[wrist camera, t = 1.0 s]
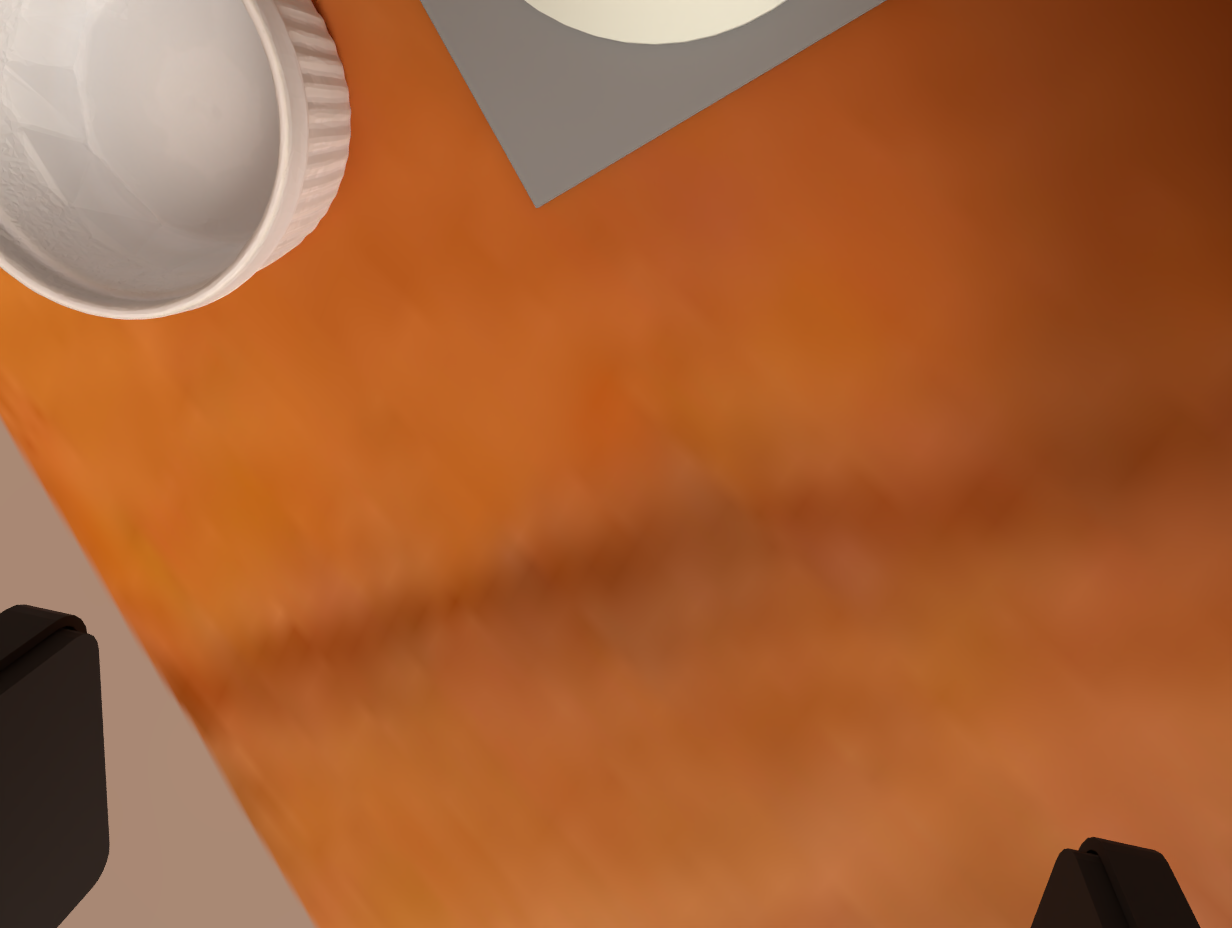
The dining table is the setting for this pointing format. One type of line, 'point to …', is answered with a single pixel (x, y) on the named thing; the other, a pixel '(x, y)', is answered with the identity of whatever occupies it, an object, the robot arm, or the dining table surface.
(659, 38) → the lid
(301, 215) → the ramekin
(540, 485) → the dining table surface
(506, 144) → the mat
